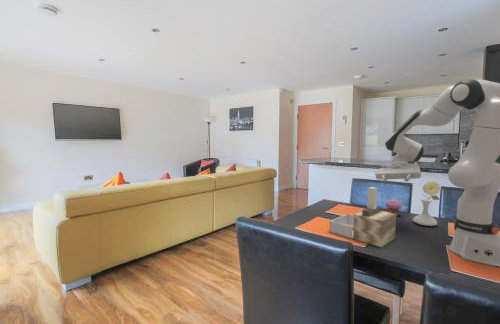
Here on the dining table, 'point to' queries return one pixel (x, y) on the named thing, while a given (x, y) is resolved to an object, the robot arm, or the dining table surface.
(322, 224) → the dining table surface
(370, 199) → the scraper
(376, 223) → the wooden grain block
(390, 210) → the cupcake
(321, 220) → the dining table surface
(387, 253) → the dining table surface
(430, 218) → the flower in vase
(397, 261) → the dining table surface
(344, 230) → the box
